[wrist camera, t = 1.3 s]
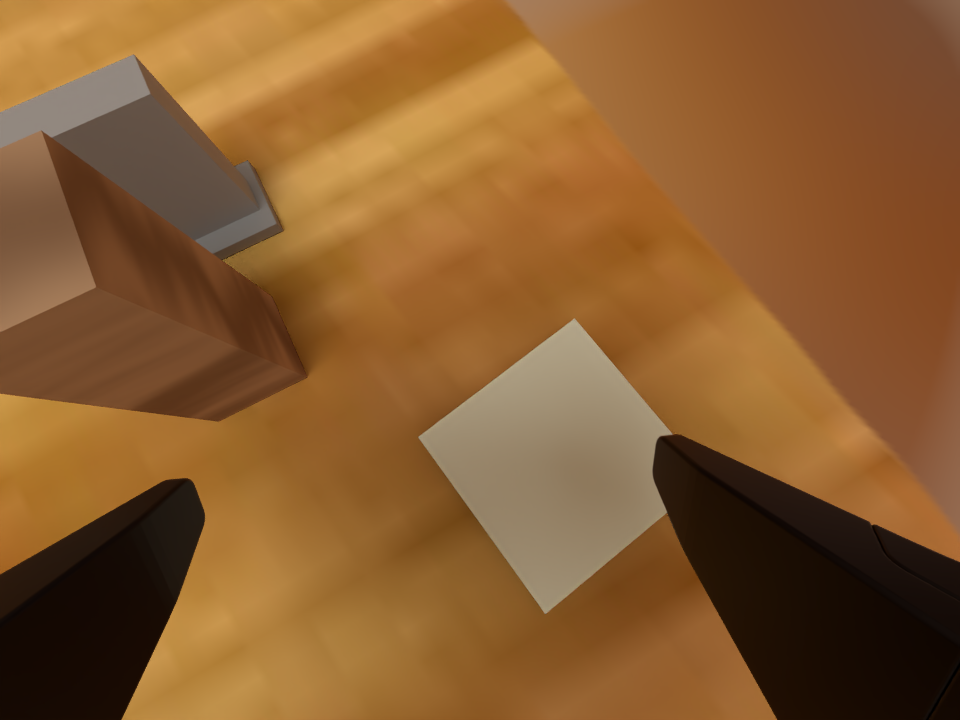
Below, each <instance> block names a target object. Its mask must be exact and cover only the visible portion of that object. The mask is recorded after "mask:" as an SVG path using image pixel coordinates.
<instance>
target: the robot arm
mask: <svg viewBox="0 0 960 720" xmlns="http://www.w3.org/2000/svg"><path fill="white" fill-rule="evenodd" d="M652 474H653V479H654V483H655V485H656V487H657V490H658V492H659V495H660V497H661V499H662V502H663V504H664V506H665V509H666V511H667V513H668V516H669V518H670V521H671V523H672V525H673V528H674V530H675V532H676V535H677V537H678V539H679V542H680V544H681V546H682V548H683V550H684V552H685V554H686V556H687V558H688V560H689V562H690V563H691V565H692V567H693V569H694V571H695V572H696V574H697V576H698V578H699V580H700V581H701V583H702V585H703V587H704V589H705V590H706V592H707V594H708V596H709V598H710V599H711V601H712V603H713V605H714V607H715V608H716V610H717V612H718V614H719V616H720V617H721V619H722V621H723V623H724V625H725V626H726V628H727V630H728V632H729V634H730V635H731V637H732V639H733V641H734V643H735V644H736V646H737V648H738V650H739V652H740V653H741V655H742V657H743V659H744V661H745V662H746V664H747V666H748V668H749V670H750V671H751V673H752V675H753V677H754V679H755V680H756V682H757V684H758V686H759V688H760V689H761V691H762V693H763V695H764V697H765V698H766V700H767V702H768V704H769V706H770V707H771V709H772V711H773V713H774V715H775V716H776V718H777V720H960V562H958V561H956V560H954V559H951V558H949V557H946V556H944V555H942V554H939V553H937V552H935V551H933V550H931V549H928V548H926V547H924V546H922V545H919V544H917V543H915V542H913V541H910V540H908V539H906V538H904V537H901V536H899V535H897V534H895V533H893V532H891V531H888V530H886V529H884V528H882V527H880V526H878V525H871V523H870V522H869V521H867V520H864V519H862V518H860V517H858V516H856V515H853V514H851V513H849V512H847V511H845V510H843V509H840V508H838V507H836V506H834V505H832V504H830V503H827V502H825V501H823V500H821V499H819V498H817V497H814V496H812V495H810V494H808V493H806V492H803V491H801V490H799V489H797V488H795V487H793V486H790V485H788V484H786V483H784V482H782V481H780V480H777V479H775V478H773V477H771V476H769V475H767V474H764V473H762V472H760V471H758V470H756V469H753V468H751V467H749V466H747V465H745V464H743V463H740V462H738V461H736V460H734V459H732V458H730V457H727V456H725V455H723V454H721V453H719V452H717V451H714V450H712V449H710V448H708V447H706V446H704V445H701V444H699V443H697V442H695V441H693V440H691V439H688V438H686V437H684V436H682V435H678V434H675V435H664V436H660V437H659V438H658V439H657V441H656V445H655V453H654V460H653V468H652ZM204 522H205V513H204V509H203V507H202V504H201V501H200V498H199V496H198V493H197V490H196V488H195V485H194V483H193V482H192V481H191V480H190V479H188V478H182V479H170V480H165V481H163V482H161V483H159V484H157V485H156V486H154V487H152V488H150V489H149V490H147V491H145V492H143V493H142V494H140V495H138V496H136V497H135V498H133V499H131V500H129V501H128V502H126V503H124V504H122V505H121V506H119V507H117V508H115V509H114V510H112V511H110V512H108V513H107V514H105V515H103V516H102V517H100V518H98V519H96V520H95V521H93V522H91V523H89V524H88V525H86V526H84V527H82V528H81V529H79V530H77V531H75V532H74V533H72V534H70V535H68V536H67V537H65V538H63V539H61V540H60V541H58V542H56V543H54V544H53V545H51V546H49V547H47V548H46V549H44V550H42V551H40V552H39V553H37V554H35V555H33V556H32V557H30V558H28V559H26V560H25V561H23V562H21V563H19V564H18V565H16V566H14V567H12V568H11V569H9V570H7V571H6V572H4V573H2V574H0V720H122V718H123V715H124V713H125V711H126V709H127V707H128V705H129V703H130V701H131V698H132V696H133V694H134V692H135V690H136V688H137V686H138V684H139V681H140V679H141V677H142V675H143V673H144V671H145V669H146V667H147V664H148V662H149V660H150V658H151V656H152V654H153V652H154V650H155V647H156V645H157V643H158V641H159V639H160V637H161V635H162V633H163V630H164V628H165V626H166V624H167V622H168V620H169V618H170V615H171V613H172V611H173V609H174V606H175V604H176V602H177V599H178V597H179V594H180V591H181V589H182V586H183V583H184V580H185V577H186V575H187V572H188V569H189V566H190V563H191V560H192V558H193V555H194V552H195V549H196V546H197V543H198V541H199V538H200V535H201V532H202V529H203V526H204Z"/></svg>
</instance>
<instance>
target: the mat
mask: <svg viewBox="0 0 960 720" xmlns="http://www.w3.org/2000/svg"><path fill="white" fill-rule="evenodd" d="M664 435H673V434H672V433H671V432H670V430H669V429H668V428H667V427H666V426H665V425H664V423H663V422H662V421H661V420H660V419H659V417H658V416H657V415H656V414H655V413H654V412H653V410H652V409H651V408H650V407H649V406H648V404H647V403H646V402H645V401H644V400H643V399H642V397H641V396H640V395H639V394H638V393H637V391H636V390H635V389H634V388H633V387H632V386H631V384H630V383H629V382H628V381H627V380H626V378H625V377H624V376H623V375H622V374H621V373H620V371H619V370H618V369H617V368H616V367H615V365H614V364H613V363H612V362H611V361H610V360H609V358H608V357H607V356H606V355H605V354H604V352H603V351H602V350H601V349H600V348H599V347H598V345H597V344H596V343H595V342H594V341H593V339H592V338H591V337H590V336H589V335H588V334H587V332H586V331H585V330H584V329H583V328H582V326H581V325H580V324H579V323H578V322H577V321H576V319H575V318H574V319H573V320H572V321H571V322H569V323H568V324H567V325H565V326H564V327H563V328H561V329H560V330H559V331H557V332H556V333H555V334H553V335H552V336H551V337H549V338H548V339H547V340H545V341H544V342H543V343H542V344H540V345H539V346H538V347H536V348H535V349H534V350H532V351H531V352H530V353H528V354H527V355H526V356H524V357H523V358H522V359H520V360H519V361H518V362H516V363H515V364H514V365H512V366H511V367H510V368H509V369H507V370H506V371H505V372H503V373H502V374H501V375H499V376H498V377H497V378H495V379H494V380H493V381H491V382H490V383H489V384H487V385H486V386H485V387H483V388H482V389H481V390H479V391H478V392H477V393H476V394H474V395H473V396H472V397H470V398H469V399H468V400H466V401H465V402H464V403H462V404H461V405H460V406H458V407H457V408H456V409H454V410H453V411H452V412H450V413H449V414H448V415H446V416H445V417H444V418H443V419H441V420H440V421H439V422H437V423H436V424H435V425H433V426H432V427H431V428H429V429H428V430H427V431H425V432H424V433H423V434H421V435H420V436H419V437H418V438H419V439H420V441H421V442H422V443H423V445H424V446H425V448H426V449H427V450H428V452H429V453H430V454H431V456H432V457H433V459H434V460H435V461H436V463H437V464H438V466H439V467H440V468H441V470H442V471H443V473H444V474H445V475H446V477H447V478H448V479H449V481H450V482H451V484H452V485H453V486H454V488H455V489H456V491H457V492H458V493H459V495H460V496H461V498H462V499H463V500H464V502H465V503H466V505H467V506H468V507H469V509H470V510H471V511H472V513H473V514H474V516H475V517H476V518H477V520H478V521H479V523H480V524H481V525H482V527H483V528H484V530H485V531H486V532H487V534H488V535H489V536H490V538H491V539H492V541H493V542H494V543H495V545H496V546H497V548H498V549H499V550H500V552H501V553H502V555H503V556H504V557H505V559H506V560H507V562H508V563H509V564H510V566H511V567H512V568H513V570H514V571H515V573H516V574H517V575H518V577H519V578H520V580H521V581H522V582H523V584H524V585H525V587H526V588H527V589H528V591H529V592H530V593H531V595H532V596H533V598H534V599H535V600H536V602H537V603H538V605H539V606H540V607H541V609H542V610H543V612H544V613H545V614H546V613H547V612H549V611H550V610H551V609H552V608H553V607H555V606H556V605H557V604H558V603H559V602H561V601H562V600H563V599H564V598H565V597H567V596H568V595H569V594H570V593H571V592H573V591H574V590H575V589H576V588H577V587H579V586H580V585H581V584H582V583H583V582H585V581H586V580H587V579H588V578H589V577H591V576H592V575H593V574H594V573H595V572H597V571H598V570H599V569H600V568H601V567H603V566H604V565H605V564H606V563H607V562H609V561H610V560H611V559H612V558H613V557H615V556H616V555H617V554H618V553H619V552H620V551H622V550H623V549H624V548H625V547H626V546H628V545H629V544H630V543H631V542H632V541H634V540H635V539H636V538H637V537H638V536H640V535H641V534H642V533H643V532H644V531H646V530H647V529H648V528H649V527H650V526H652V525H653V524H654V523H655V522H656V521H658V520H659V519H660V518H661V517H662V516H664V515H665V514H666V513H667V511H666V509H665V506H664V504H663V502H662V499H661V497H660V495H659V492H658V490H657V487H656V485H655V483H654V479H653V474H652V468H653V460H654V453H655V445H656V441H657V439H658V438H659V437H660V436H664Z"/></svg>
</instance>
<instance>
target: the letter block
mask: <svg viewBox="0 0 960 720" xmlns="http://www.w3.org/2000/svg"><path fill="white" fill-rule="evenodd" d="M305 378H307V375H306V373H305V370H304V368H303V366H302V364H301V361H300V359H299V357H298V355H297V352H296V350H295V348H294V345H293V343H292V341H291V339H290V336H289V334H288V332H287V329H286V327H285V325H284V323H283V320H282V318H281V316H280V313H279V311H278V309H277V307H276V304H275V302H274V300H273V297H272V296H270V295H269V294H268V293H266V292H265V291H264V290H262V289H261V288H259V287H258V286H257V285H255V284H254V283H252V282H251V281H250V280H248V279H247V278H246V277H244V276H243V275H241V274H240V273H239V272H237V271H236V270H234V269H233V268H232V267H230V266H229V265H227V264H226V263H225V262H223V261H222V260H221V259H219V258H218V257H216V256H215V255H214V254H212V253H211V252H209V251H208V250H207V249H205V248H204V247H203V246H201V245H200V244H198V243H197V242H196V241H194V240H193V239H191V238H190V237H189V236H187V235H186V234H185V233H183V232H182V231H180V230H179V229H178V228H176V227H175V226H173V225H172V224H171V223H169V222H168V221H166V220H165V219H164V218H162V217H161V216H160V215H158V214H157V213H155V212H154V211H153V210H151V209H150V208H148V207H147V206H146V205H144V204H143V203H142V202H140V201H139V200H137V199H136V198H135V197H133V196H132V195H130V194H129V193H128V192H126V191H125V190H123V189H122V188H121V187H119V186H118V185H117V184H115V183H114V182H112V181H111V180H110V179H108V178H107V177H105V176H104V175H103V174H101V173H100V172H99V171H97V170H96V169H94V168H93V167H92V166H90V165H89V164H87V163H86V162H85V161H83V160H82V159H80V158H79V157H78V156H76V155H75V154H74V153H72V152H71V151H69V150H68V149H67V148H65V147H64V146H62V145H61V144H60V143H58V142H57V141H56V140H54V139H53V138H51V137H50V136H49V135H47V134H46V133H44V132H43V131H42V130H41V131H38V132H36V133H34V134H32V135H29V136H27V137H25V138H23V139H20V140H18V141H16V142H13V143H11V144H9V145H7V146H4V147H2V148H0V394H7V395H15V396H23V397H31V398H39V399H46V400H54V401H62V402H70V403H78V404H85V405H93V406H101V407H109V408H117V409H125V410H132V411H140V412H148V413H156V414H164V415H172V416H179V417H187V418H195V419H203V420H211V421H221V420H223V419H225V418H227V417H229V416H231V415H233V414H235V413H237V412H239V411H241V410H243V409H245V408H247V407H249V406H251V405H253V404H255V403H257V402H259V401H261V400H263V399H265V398H267V397H269V396H271V395H273V394H275V393H277V392H279V391H281V390H283V389H285V388H287V387H289V386H291V385H293V384H295V383H297V382H299V381H301V380H303V379H305Z"/></svg>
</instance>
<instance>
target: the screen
mask: <svg viewBox="0 0 960 720" xmlns="http://www.w3.org/2000/svg"><path fill="white" fill-rule="evenodd" d="M41 130H42V131H43V132H44V133H46V134H47V135H49V136H50V137H51V138H53V139H54V140H56V141H57V142H58V143H60V144H61V145H62V146H64V147H65V148H67V149H68V150H69V151H71V152H72V153H74V154H75V155H76V156H78V157H79V158H80V159H82V160H83V161H85V162H86V163H87V164H89V165H90V166H92V167H93V168H94V169H96V170H97V171H99V172H100V173H101V174H103V175H104V176H105V177H107V178H108V179H110V180H111V181H112V182H114V183H115V184H117V185H118V186H119V187H121V188H122V189H123V190H125V191H126V192H128V193H129V194H130V195H132V196H133V197H135V198H136V199H137V200H139V201H140V202H142V203H143V204H144V205H146V206H147V207H148V208H150V209H151V210H153V211H154V212H155V213H157V214H158V215H160V216H161V217H162V218H164V219H165V220H166V221H168V222H169V223H171V224H172V225H173V226H175V227H176V228H178V229H179V230H180V231H182V232H183V233H185V234H186V235H187V236H189V237H190V238H191V239H193V240H194V241H196V242H197V243H198V244H200V245H201V246H203V247H204V248H205V249H207V250H208V251H209V252H211V253H212V254H214V255H215V256H216V257H218V258H219V259H221V260H222V259H225V258H227V257H229V256H231V255H233V254H235V253H237V252H239V251H241V250H244V249H246V248H248V247H250V246H252V245H254V244H256V243H258V242H261V241H263V240H265V239H267V238H269V237H271V236H273V235H275V234H277V233H280V232H282V231H283V229H282V227H281V225H280V222H279V220H278V218H277V216H276V214H275V212H274V209H273V207H272V205H271V203H270V201H269V199H268V196H267V194H266V192H265V190H264V188H263V185H262V183H261V181H260V179H259V177H258V175H257V172H256V170H255V168H254V167H253V166H252V165H251V164H250V162H249V161H248V160H247V161H245V162H243V163H241V164H239V165H236V166H233V165H232V164H231V162H230V161H229V160H228V159H227V158H226V157H225V156H224V155H223V153H222V152H221V151H220V150H219V149H218V148H217V147H216V146H215V145H214V143H213V142H212V141H211V140H210V139H209V138H208V137H207V136H206V134H205V133H204V132H203V131H202V130H201V129H200V128H199V127H198V126H197V124H196V123H195V122H194V121H193V120H192V119H191V118H190V117H189V115H188V114H187V113H186V112H185V111H184V110H183V109H182V108H181V107H180V105H179V104H178V103H177V102H176V101H175V100H174V99H173V98H172V96H171V95H170V94H169V93H168V92H167V91H166V90H165V89H164V88H163V86H162V85H161V84H160V83H159V82H158V81H157V80H156V79H155V77H154V76H153V75H152V74H151V73H150V72H149V71H148V70H147V69H146V67H145V66H144V65H143V64H142V63H141V62H140V61H139V60H138V58H137V57H136V56H135V55H132V56H129V57H127V58H125V59H122V60H120V61H118V62H115V63H113V64H111V65H108V66H106V67H104V68H102V69H99V70H97V71H95V72H92V73H90V74H88V75H85V76H83V77H81V78H78V79H76V80H74V81H72V82H69V83H67V84H65V85H62V86H60V87H58V88H55V89H53V90H51V91H48V92H46V93H44V94H41V95H39V96H37V97H35V98H32V99H30V100H28V101H25V102H23V103H21V104H18V105H16V106H14V107H11V108H9V109H7V110H5V111H2V112H0V148H2V147H4V146H7V145H9V144H11V143H13V142H16V141H18V140H20V139H23V138H25V137H27V136H29V135H32V134H34V133H36V132H38V131H41Z"/></svg>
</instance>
